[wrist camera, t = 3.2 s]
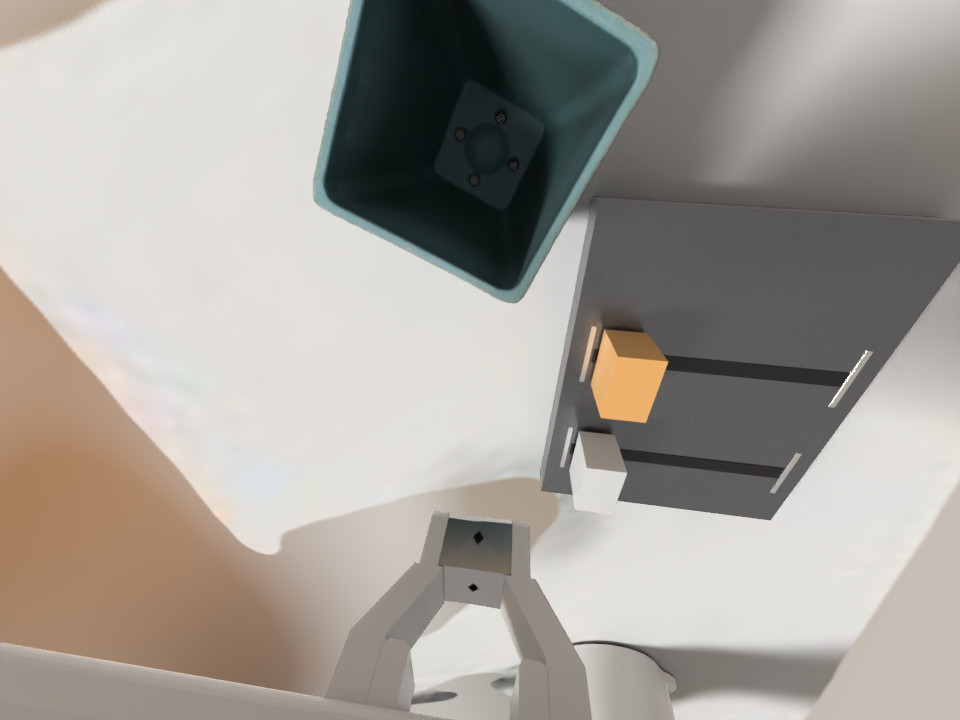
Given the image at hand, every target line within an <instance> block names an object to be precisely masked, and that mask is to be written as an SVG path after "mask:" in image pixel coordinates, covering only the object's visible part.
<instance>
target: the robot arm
mask: <svg viewBox="0 0 960 720" xmlns="http://www.w3.org/2000/svg"><path fill="white" fill-rule="evenodd" d="M529 531H530V530H529V524H528V522H519V521H512V520H505V519H496V518H487V517H475V516H468V515H461V514H453V513H448V512H440V511H434V513H433V515H432V518H431V521H430V525H429V529H428V533H427V537H426V540H425V544H424V548H423V552H422V556H421V559H420V563H414V564H413V565H412V566H411V567H410V568H409V569H408V570H407V571H406V572H405V573H404V574H403V575H402V577H401V578H400V579H399V580H398V581H397V582H396V583H395V584H394V585H393V586H392V587H391V588H390V589H389V590H388V591H387V592H386V593H385V594H384V595H383V596H382V597H381V598H380V599H379V601H378V602H377V603H376V604H375V605H374V606H373V607H372V608H371V609H370V610H369V611H368V612H367V613H366V614H365V615H364V616H363V617H362V618H361V619H360V620H359V621H358V622H357V623H356V625H355V626H354V627H353V628H352V629H351V630H350V632H349V635H348V638H347V640H346V643H345V645H344V648H343V651H342V653H341V656H340V659H339V661H338V664H337V667H336V669H335V672H334V675H333V677H332V680H331V683H330V685H329V688H328V691H327V693H326V696H325V698H323V697H317V696H311V695H305V694H299V693H293V692H288V691H282V690H276V689H270V688H264V687H259V686H253V685H247V684H241V683H235V682H230V681H223V680H218V679H212V678H206V677H201V676H195V675H188V674H183V673H177V672H171V671H166V670H160V669H154V668H148V667H142V666H137V665H131V664H125V663H118V662H113V661H107V660H102V659H96V658H90V657H83V656H78V655H72V654H66V653H61V652H54V651H49V650H43V649H37V648H32V647H26V646H20V645H15V644H10V643H2V642H0V720H451V719H445V718H439V717H434V716H427V715H422V714H415V713H410V706H411V701H412V696H413V691H414V686H415V685H414V677H413V669H412V662H411V654H410V649H411V648H412V647H413V645H414V644H415V643H416V641H417V640H418V638H419V637H420V636H421V634H422V633H423V631H424V630H425V628H426V627H427V626H428V624H429V623H430V621H431V620H432V619H433V617H434V616H435V615H436V613H437V612H438V610H439V609H440V608H441V606H442V605H443V604H444V601H451V602H460V603H468V604H475V605H481V606H487V607H492V608H498V609H500V611H501V614H502V616H503V619H504V621H505V623H506V626H507V628H508V631H509V633H510V636H511V638H512V641H513V643H514V646H515V648H516V651H517V653H518V656H519V658H520V661H521V664H520V665H519V669H518V673H517V677H516V681H515V685H514V689H513V693H512V697H511V701H510V720H675V718H674V714H673V709H672V705H671V700H670V696H669V694H671V693H673V692H674V691H676V689H677V686H676V681H675V678H674V677H673V676H671V675H669V674H668V673H666V672H664V671H662V670H661V669H660V668H659V666H658V665H657V664H656V663H655V661H653V660H652V659H651V658H649V657H648V656H646V655H644V654H642V653H640V652H638V651H635V650H632V649H629V648H625V647H620V646H615V645H607V644H582V645H574V646H573V644H572V643H571V641H570V639H569V637H568V636H567V634H566V632H565V630H564V629H563V627H562V625H561V623H560V622H559V620H558V618H557V616H556V615H555V613H554V611H553V609H552V608H551V606H550V604H549V602H548V601H547V599H546V597H545V595H544V594H543V592H542V590H541V588H540V587H539V585H538V583H537V581H536V580H535V579H531V578H530V535H529V534H530V533H529Z"/></svg>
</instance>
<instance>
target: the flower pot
mask: <svg viewBox="0 0 960 720" xmlns="http://www.w3.org/2000/svg"><path fill="white" fill-rule="evenodd" d="M659 57H660V50H659V46H658V43H657V42H656V40H654V39H653V38H652V37H651V36H650V35H649V34H648V33H647V32H645V31H644V30H642V29H641V28H640V27H638V26H636V25H634V24H632V23H631V22H629V21H627V20H626V19H625V18H623V17H622V16H621V15H619V14H617V13H616V12H614V11H612V10H611V9H609V8H607V7H606V6H605V5H604V4H602V3H601V2H599V1H597V0H350V6H349V8H348V17H347V20H346V27H345V32H344V36H343V40H342V46H341V52H340V56H339V62H338V68H337V72H336V76H335V82H334V85H333V89H332V93H331V100H330V105H329V109H328V113H327V119H326V121H325V127H324V134H323V137H322V142H321V147H320V152H319V155H318V160H317V165H316V170H315V174H314V179H313V198H314V201H315V203H316V204H317V205H318V206H319V207H321V208H322V209H324V210H326V211H328V212H330V213H331V214H333V215H335V216H337V217H339V218H341V219H343V220H345V221H347V222H349V223H351V224H353V225H356V226H358V227H360V228H362V229H363V230H365V231H367V232H369V233H371V234H374V235H376V236H378V237H379V238H382V239H384V240H386V241H388V242H390V243H392V244H394V245H396V246H398V247H400V248H402V249H404V250H406V251H408V252H410V253H412V254H413V255H416V256H417V257H419V258H421V259H423V260H425V261H427V262H429V263H431V264H433V265H435V266H437V267H439V268H441V269H443V270H445V271H447V272H448V273H451V274H453V275H455V276H456V277H458V278H460V279H462V280H464V281H466V282H468V283H470V284H471V285H473V286H475V287H477V288H479V289H481V290H482V291H484V292H486V293H488V294H490V295H491V296H493V297H494V298H496V299H499V300H501V301H504V302H507V303H517V302H519V301H520V300H521V299H522V298H523V297H524V295H525V293H526V292H527V290H528V288H529V287H530V285H531V283H532V282H533V280H534V277H535V276H536V274H537V272H538V271H539V269H540V267H541V265H542V263H543V262H544V260H545V258H546V256H547V255H548V253H549V251H550V250H551V247H552V245H553V244H554V242H555V240H556V238H557V237H558V235H559V233H560V232H561V230H562V228H563V226H564V224H565V223H566V221H567V219H568V218H569V216H570V214H571V212H572V210H573V209H574V208H575V206H576V204H577V202H578V201H579V199H580V197H581V195H582V194H583V192H584V190H585V188H586V187H587V185H588V183H589V181H590V180H591V178H592V176H593V175H594V173H595V171H596V170H597V168H598V166H599V164H600V162H601V161H602V160H603V158H604V156H605V154H606V152H607V151H608V149H609V147H610V146H611V144H612V143H613V141H614V139H615V138H616V136H617V134H618V132H619V131H620V129H621V128H622V126H623V124H624V122H625V121H626V120H627V118H628V116H629V114H630V112H631V111H632V109H633V108H634V106H635V105H636V103H637V102H638V100H639V98H640V97H641V95H642V93H643V91H644V90H645V88H646V87H647V85H648V83H649V82H650V80H651V78H652V76H653V74H654V71H655V69H656V67H657V64H658V61H659ZM499 112H502V113H504V114H505V121H504V123H502V124H499V123H497V121H496V115H497V113H499ZM459 129H463V130H464V132H465V139H464V140H462V141H460V140H458V139H457V138H456V132H457V130H459ZM511 160H515V161H516V162H517V168H516V170H514V171H512V170H510V169H509V166H508V165H509V162H510V161H511ZM472 175H477V176H478V178H479V183H478V184H477V185H473V184H471V182H470V177H471V176H472Z"/></svg>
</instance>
